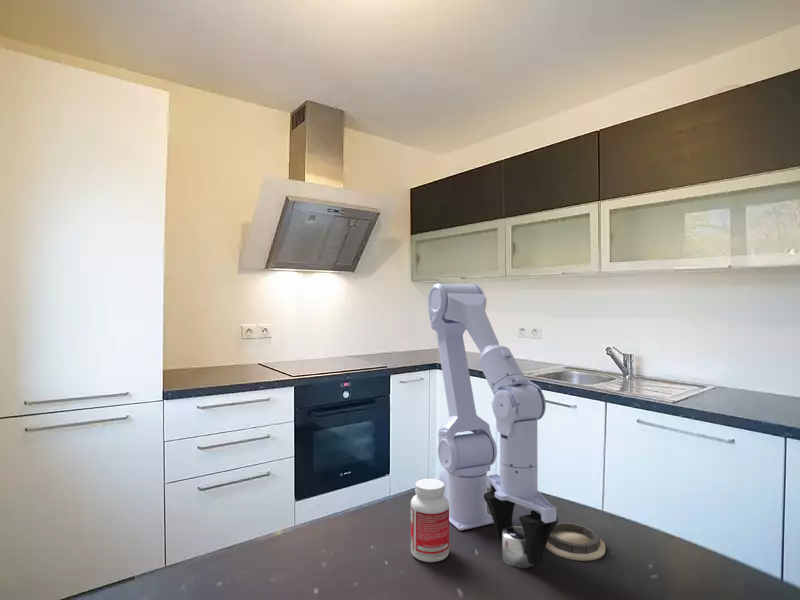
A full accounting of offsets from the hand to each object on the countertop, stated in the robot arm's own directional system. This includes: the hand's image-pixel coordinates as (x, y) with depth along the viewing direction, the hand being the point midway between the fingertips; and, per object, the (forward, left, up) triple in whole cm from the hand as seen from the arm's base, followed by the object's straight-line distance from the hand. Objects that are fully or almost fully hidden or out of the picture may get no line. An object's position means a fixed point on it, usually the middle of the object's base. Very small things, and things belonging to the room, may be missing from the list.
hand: (518, 549), depth 72 cm
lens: (0, 0, -2) cm, 2 cm away
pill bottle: (-7, -12, -2) cm, 14 cm away
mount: (0, +11, -1) cm, 11 cm away
